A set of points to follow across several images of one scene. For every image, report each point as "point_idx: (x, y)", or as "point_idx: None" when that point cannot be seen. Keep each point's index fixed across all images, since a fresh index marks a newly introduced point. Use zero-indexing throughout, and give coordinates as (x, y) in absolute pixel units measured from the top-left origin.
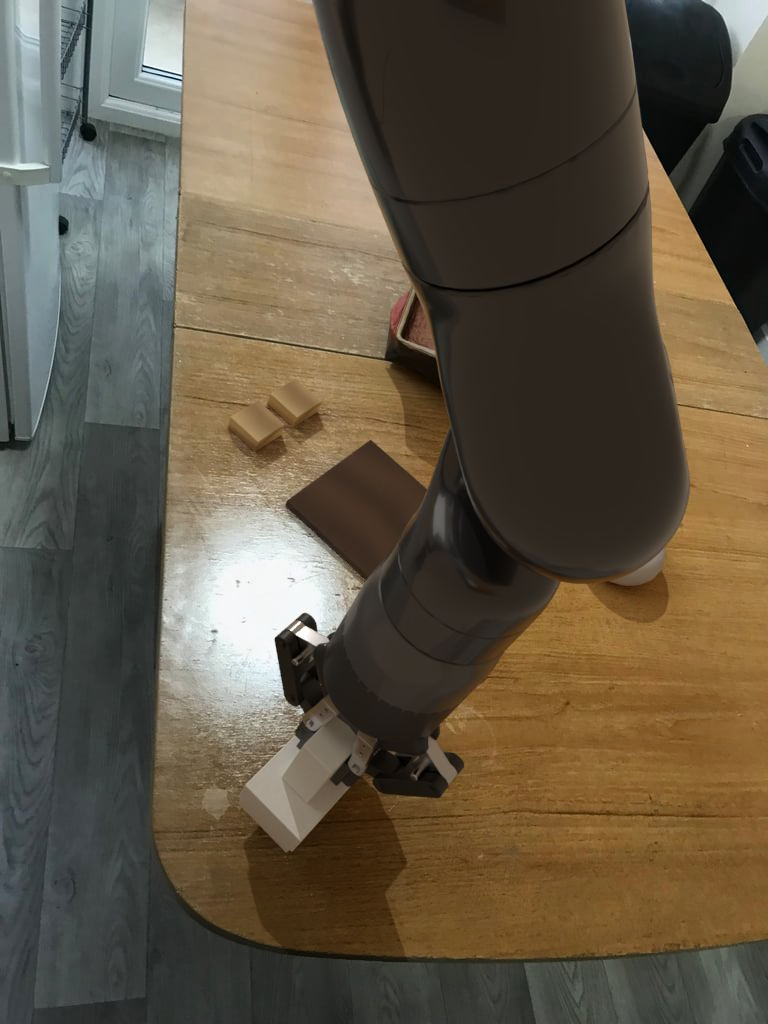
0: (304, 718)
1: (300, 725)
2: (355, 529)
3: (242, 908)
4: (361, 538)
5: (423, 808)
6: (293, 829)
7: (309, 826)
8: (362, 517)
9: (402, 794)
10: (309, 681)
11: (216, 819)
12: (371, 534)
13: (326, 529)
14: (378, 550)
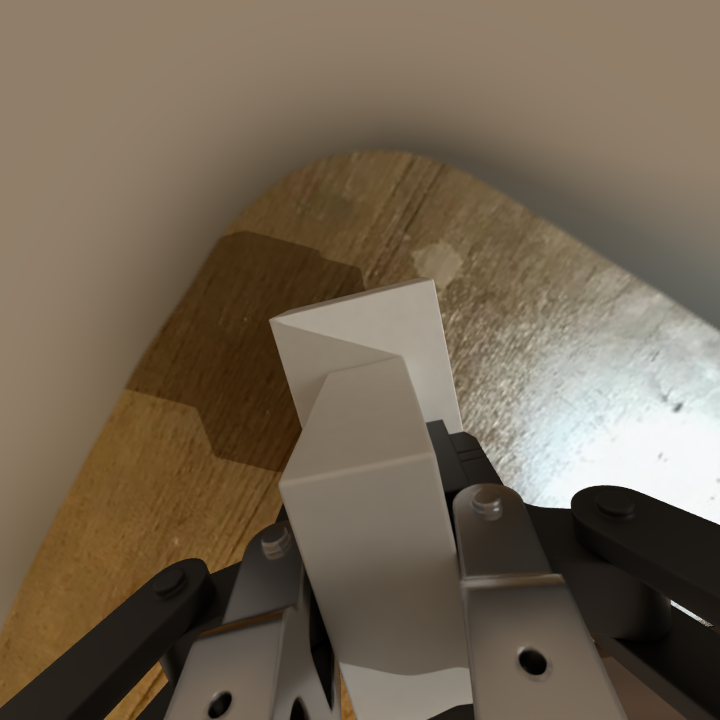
0: (511, 499)
1: (484, 460)
2: None
3: (279, 217)
4: None
5: (265, 516)
6: (297, 319)
7: (286, 351)
8: None
9: (44, 675)
10: (642, 615)
11: (413, 250)
12: (657, 699)
13: None
14: (627, 692)
